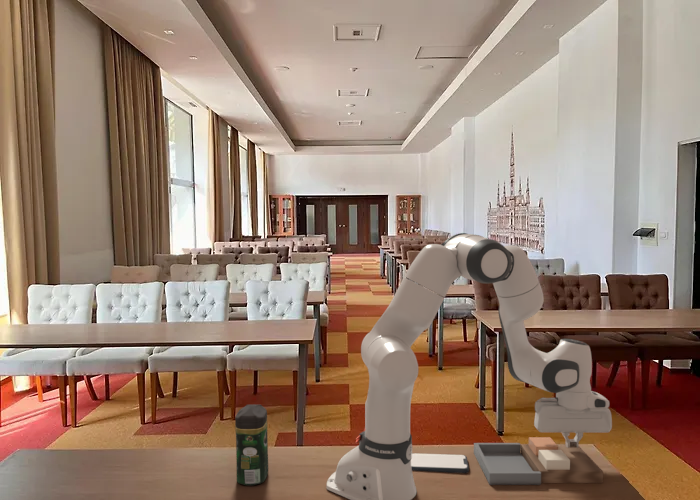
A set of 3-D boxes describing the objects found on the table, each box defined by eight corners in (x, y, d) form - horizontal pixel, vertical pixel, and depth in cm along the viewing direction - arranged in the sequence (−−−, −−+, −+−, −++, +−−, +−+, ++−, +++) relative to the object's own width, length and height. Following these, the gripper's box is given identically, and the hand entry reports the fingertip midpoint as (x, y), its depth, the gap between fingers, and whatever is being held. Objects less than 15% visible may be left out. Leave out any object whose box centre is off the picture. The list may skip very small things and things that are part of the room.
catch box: (489, 484, 138) (489, 473, 137) (473, 453, 156) (473, 442, 155) (540, 484, 138) (541, 473, 137) (519, 453, 155) (519, 442, 155)
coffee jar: (241, 468, 147) (240, 401, 145) (270, 469, 146) (269, 401, 145) (233, 487, 137) (231, 415, 136) (264, 487, 137) (263, 415, 135)
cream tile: (546, 469, 139) (546, 460, 139) (538, 458, 145) (538, 449, 145) (569, 469, 139) (570, 460, 139) (560, 458, 145) (561, 449, 145)
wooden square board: (539, 482, 139) (539, 471, 138) (520, 454, 154) (520, 444, 154) (602, 482, 138) (603, 471, 138) (577, 454, 154) (577, 444, 154)
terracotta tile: (535, 455, 147) (535, 446, 147) (528, 445, 153) (528, 437, 153) (557, 455, 147) (558, 446, 147) (550, 445, 153) (550, 437, 153)
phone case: (408, 472, 146) (469, 475, 144) (408, 467, 145) (469, 469, 143) (409, 458, 154) (466, 459, 152) (409, 452, 154) (466, 454, 152)
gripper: (539, 401, 146) (537, 451, 147) (615, 401, 146) (613, 451, 147) (531, 393, 152) (530, 441, 153) (604, 393, 152) (603, 441, 153)
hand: (571, 446), depth 150 cm, fingers closed
